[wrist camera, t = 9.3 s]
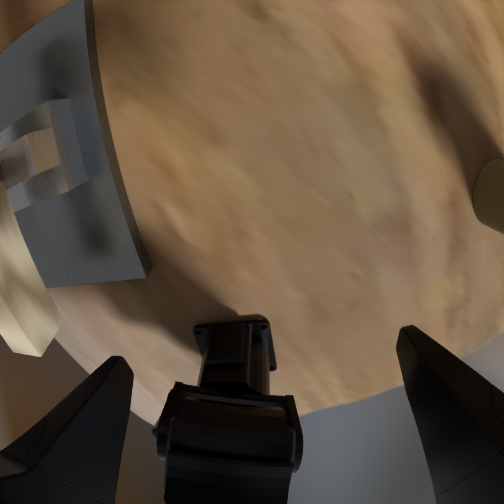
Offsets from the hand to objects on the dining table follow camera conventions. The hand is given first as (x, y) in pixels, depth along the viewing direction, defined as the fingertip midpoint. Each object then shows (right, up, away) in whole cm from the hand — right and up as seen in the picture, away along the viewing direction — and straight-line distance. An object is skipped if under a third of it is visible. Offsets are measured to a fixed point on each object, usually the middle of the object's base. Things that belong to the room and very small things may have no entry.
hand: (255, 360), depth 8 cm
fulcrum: (-16, +11, +8) cm, 21 cm away
